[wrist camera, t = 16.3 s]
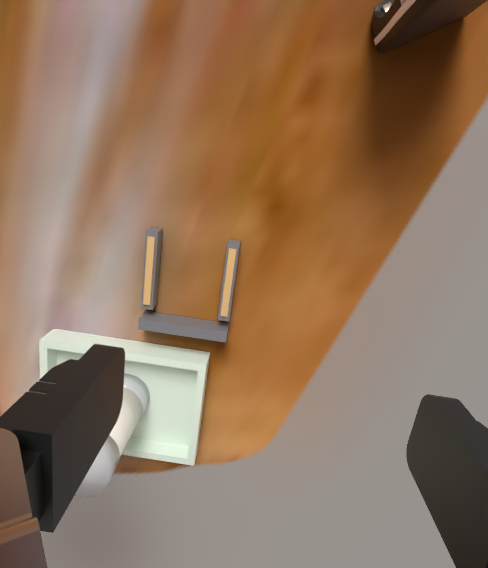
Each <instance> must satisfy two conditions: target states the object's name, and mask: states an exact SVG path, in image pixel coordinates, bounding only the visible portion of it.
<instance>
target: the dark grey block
mask: <svg viewBox="0 0 488 568" xmlns="http://www.w3.org/2000/svg"><path fill="white" fill-rule="evenodd" d="M486 1H487V0H383V1H382V2H380V3H379V4H378V5H377V7H376V8H375V10H374V12H373V16H372V30H373V34H374V37H375V39H374V42H375V46H376V45H377V48H378V51H379V52H381V53H383V52H386V51H388V50H391V49H393V48H395V47H398V46H400V45H402V44H404V43H407V42H409V41H411V40H414V39H416V38H418V37H420V36H423V35H425V34H427V33H430V32H432V31H434V30H436V29H439V28H441V27H443V26H446V25H448V24H450V23H452V22H455V21H457V20H459V19H461V18H464V17H466V16H467V15H468V14H470V13H471V12H472V11H474V10H475V9H476V8H478V7H479V6H480V5H482V4H483V3H484V2H486Z"/></svg>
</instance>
